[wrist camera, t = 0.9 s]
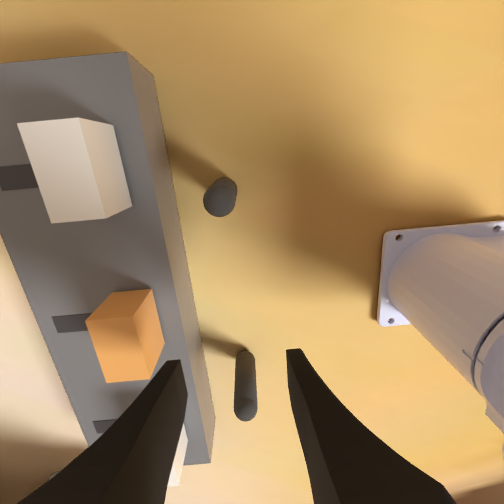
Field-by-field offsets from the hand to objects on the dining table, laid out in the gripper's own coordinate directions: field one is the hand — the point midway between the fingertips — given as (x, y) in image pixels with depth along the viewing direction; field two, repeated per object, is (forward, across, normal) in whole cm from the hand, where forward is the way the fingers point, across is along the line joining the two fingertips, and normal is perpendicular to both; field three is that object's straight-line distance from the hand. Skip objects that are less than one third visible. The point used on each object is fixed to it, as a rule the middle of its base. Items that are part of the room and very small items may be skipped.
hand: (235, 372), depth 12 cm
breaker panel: (+9, +8, 0) cm, 12 cm away
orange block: (+5, +6, 0) cm, 8 cm away
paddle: (+5, +6, -9) cm, 12 cm away
